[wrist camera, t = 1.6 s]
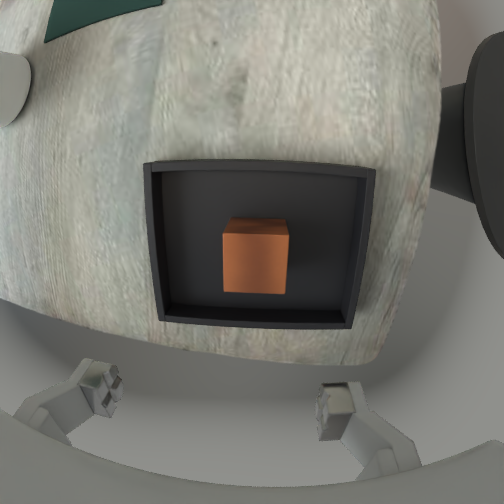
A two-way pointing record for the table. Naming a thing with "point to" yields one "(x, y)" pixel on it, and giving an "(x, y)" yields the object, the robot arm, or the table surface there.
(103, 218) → the table surface
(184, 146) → the table surface
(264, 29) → the table surface
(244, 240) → the block
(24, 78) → the cup
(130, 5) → the mat
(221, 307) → the baking pan
